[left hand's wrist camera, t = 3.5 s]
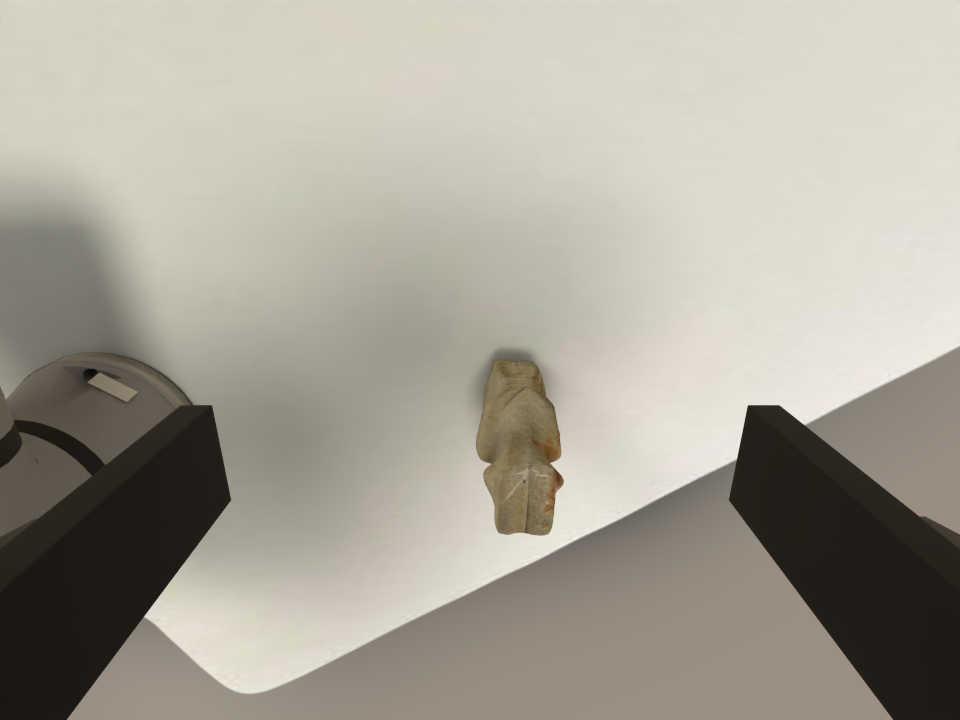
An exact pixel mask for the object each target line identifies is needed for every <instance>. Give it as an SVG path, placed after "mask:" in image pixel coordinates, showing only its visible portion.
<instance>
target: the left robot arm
mask: <svg viewBox="0 0 960 720" xmlns="http://www.w3.org/2000/svg"><path fill="white" fill-rule="evenodd" d="M230 501H231V497H230V492H229V487H228V482H227V477H226V472H225V467H224V463H223V458H222V453H221V448H220V443H219V438H218V433H217V428H216V423H215V418H214V413H213V408H212V405H191V404H190V403H189V401H188V400H187V399H186V397H185V396H184V395H183V394H182V393H181V392H180V390H179V389H178V388H176V387H175V386H174V385H173V384H172V383H171V382H170V381H169V380H167V379H166V378H165V377H164V376H162V375H161V374H159V373H158V372H156V371H155V370H153V369H151V368H150V367H148V366H146V365H144V364H142V363H139V362H137V361H134V360H132V359H129V358H126V357H123V356H118V355H114V354H108V353H95V352H93V353H80V354H75V355H71V356H67V357H64V358H62V359H59V360H57V361H55V362H53V363H51V364H48V365H46V366H44V367H42V368H40V369H38V370H36V371H35V372H33V373H32V374H30V375H29V376H28V377H27V378H26V379H24V381H23V382H22V383H21V384H20V385H19V386H18V387H17V388H16V389H15V391H14V392H13V393H12V394H11V395H10V396H9V397H8V398H7V399H5V397H4V395H3V392H2V390H1V387H0V720H67V719H68V717H69V716H70V715H71V713H72V712H73V711H74V709H75V708H76V706H77V705H78V704H79V702H80V701H81V700H82V699H83V697H84V696H85V695H86V693H87V692H88V690H89V689H90V688H91V686H92V685H93V684H94V682H95V681H96V680H97V678H98V677H99V676H100V675H101V673H102V672H103V671H104V669H105V668H106V666H107V665H108V664H109V662H110V661H111V660H112V658H113V657H114V656H115V654H116V653H117V652H118V650H119V649H120V648H121V646H122V645H123V644H124V642H125V641H126V640H127V638H128V637H129V636H130V634H131V633H132V632H133V630H134V629H135V628H136V626H137V625H138V624H139V622H140V621H141V620H142V618H143V617H144V616H145V614H146V613H147V612H148V610H149V609H150V608H151V606H152V605H153V604H154V602H155V601H156V600H157V598H158V597H159V596H160V594H161V593H162V592H163V590H164V589H165V588H166V586H167V585H168V584H169V582H170V581H171V580H172V578H173V577H174V576H175V574H176V573H177V572H178V570H179V569H180V568H181V566H182V565H183V564H184V562H185V561H186V560H187V558H188V557H189V556H190V554H191V553H192V552H193V550H194V549H195V548H196V546H197V545H198V544H199V542H200V541H201V540H202V538H203V537H204V536H205V534H206V533H207V532H208V530H209V529H210V528H211V526H212V525H213V524H214V522H215V521H216V520H217V518H218V517H219V516H220V514H221V513H222V512H223V510H224V509H225V508H226V506H227V505H228V504H229V502H230ZM729 501H730V502H731V504H732V505H733V506H734V508H735V509H736V510H737V511H738V513H739V514H740V516H741V517H742V518H743V520H744V521H745V522H746V524H747V525H748V526H749V528H750V529H751V530H752V532H753V533H754V534H755V536H756V537H757V538H758V540H759V541H760V542H761V544H762V545H763V546H764V548H765V549H766V550H767V552H768V553H769V554H770V556H771V557H772V558H773V560H774V561H775V562H776V564H777V565H778V566H779V568H780V569H781V570H782V572H783V573H784V574H785V576H786V577H787V578H788V580H789V581H790V582H791V584H792V585H793V586H794V588H795V589H796V590H797V592H798V593H799V594H800V596H801V597H802V598H803V600H804V601H805V602H806V604H807V605H808V606H809V608H810V609H811V610H812V612H813V613H814V614H815V616H816V617H817V618H818V620H819V621H820V622H821V624H822V625H823V626H824V628H825V629H826V630H827V632H828V633H829V634H830V636H831V637H832V638H833V640H834V641H835V642H836V644H837V645H838V646H839V648H840V649H841V650H842V652H843V653H844V654H845V656H846V657H847V658H848V660H849V661H850V662H851V664H852V665H853V666H854V668H855V669H856V670H857V672H858V673H859V675H860V676H861V677H862V679H863V680H864V681H865V683H866V684H867V685H868V687H869V688H870V689H871V691H872V692H873V693H874V695H875V696H876V697H877V698H878V700H879V701H880V703H881V704H882V705H883V707H884V708H885V709H886V711H887V712H888V713H889V715H890V716H891V717H892V719H893V720H960V535H959V534H957V533H956V532H954V531H952V530H950V529H948V528H946V527H944V526H942V525H940V524H938V523H937V522H935V521H933V520H931V519H929V518H927V517H919V516H918V515H917V514H915V513H914V512H913V511H912V510H910V509H909V508H908V507H907V506H905V505H904V504H903V503H902V502H900V501H899V500H898V499H897V498H895V497H894V496H893V495H891V494H890V493H889V492H888V491H886V490H885V489H884V488H883V487H881V486H880V485H879V484H878V483H876V482H875V481H874V480H873V479H871V478H870V477H869V476H868V475H866V474H865V473H864V472H862V471H861V470H860V469H859V468H857V467H856V466H855V465H854V464H852V463H851V462H850V461H849V460H847V459H846V458H845V457H844V456H842V455H841V454H840V453H839V452H837V451H836V450H835V449H834V448H832V447H831V446H830V445H829V444H827V443H826V442H825V441H823V440H822V439H821V438H820V437H818V436H817V435H816V434H815V433H813V432H812V431H811V430H810V429H808V428H807V427H806V426H805V425H803V424H802V423H801V422H800V421H798V420H797V419H796V418H795V417H793V416H792V415H791V414H790V413H788V412H787V411H786V410H784V409H783V408H782V407H781V406H779V405H748V408H747V413H746V418H745V423H744V428H743V433H742V438H741V443H740V448H739V453H738V458H737V463H736V468H735V473H734V477H733V482H732V487H731V492H730V497H729Z"/></svg>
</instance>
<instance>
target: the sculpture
mask: <svg viewBox="0 0 960 720" xmlns="http://www.w3.org/2000/svg"><path fill="white" fill-rule="evenodd" d="M476 449H477V453H478V456H479V458H480V459H481V460H482V461H484V462H487V463H491V465H490V466H489V467H487V468H486V469H485V471H484V473H483V476H484V482H485V484H486V486H487V488H488V490H489V492H490V494H491V496H492V499H493V502H494V505H495V525H496V528H497V531H498V532H499V533H500V534H506V535H510V534H513V533H519V532H520V533H527V534H531V535H539V536H541V535H547V534H549V532H550V531H551V528H552V524H553V517H554V505H555V493H556V492H557V491H558V490H559V489H560V488H561V487H562V485H563V483H564V480H563V478H562V476H561V475H560V474H559V473H558V472H557V470H556V469H555V468H554V467H553V466H552V465H551V464H550V463H551V462H554V461H556V460H558V459H559V458H560V457H561V445H560V433H559V430H558V425H557V420H556V414H555V409H554V406H553V404H552V403H551V402H550V401H549V400H548V398H547V397H546V393H545V386H544V383H543V379H542V376H541V373H540V370H539V368H538V367H537V365H535V364H534V363H532V362H527V361H520V362H514V361H507V360H495V361H494V362H493V366H492V371H491V374H490V376H489V379H488V383H487V386H486V390H485V396H484V403H483V412H482V416H481V421H480V425H479V430H478V434H477V439H476Z"/></svg>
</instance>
